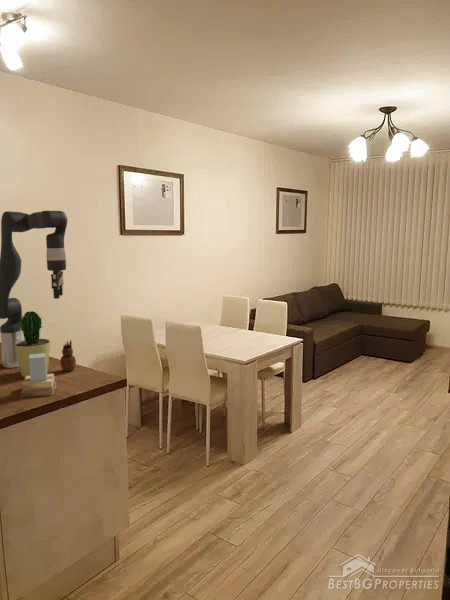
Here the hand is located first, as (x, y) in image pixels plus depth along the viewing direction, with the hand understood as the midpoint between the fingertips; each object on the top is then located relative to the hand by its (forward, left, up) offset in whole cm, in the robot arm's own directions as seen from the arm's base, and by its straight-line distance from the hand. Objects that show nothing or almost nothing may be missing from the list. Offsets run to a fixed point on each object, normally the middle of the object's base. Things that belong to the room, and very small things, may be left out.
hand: (58, 296), depth 193 cm
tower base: (+10, -8, -39) cm, 41 cm away
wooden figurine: (-16, 0, -38) cm, 41 cm away
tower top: (+9, -8, -36) cm, 38 cm away
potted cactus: (-15, -15, -38) cm, 44 cm away
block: (+10, -8, -33) cm, 35 cm away
